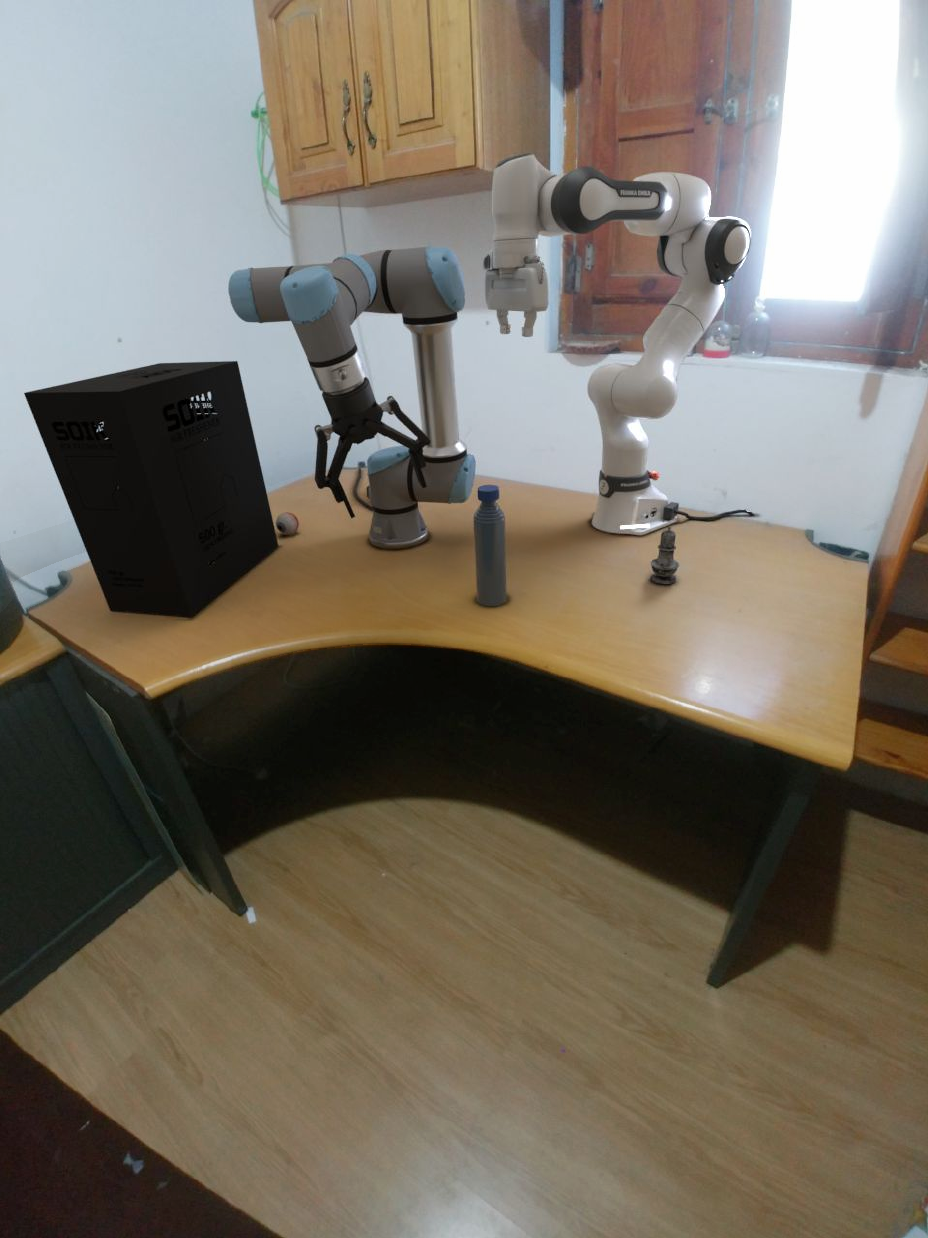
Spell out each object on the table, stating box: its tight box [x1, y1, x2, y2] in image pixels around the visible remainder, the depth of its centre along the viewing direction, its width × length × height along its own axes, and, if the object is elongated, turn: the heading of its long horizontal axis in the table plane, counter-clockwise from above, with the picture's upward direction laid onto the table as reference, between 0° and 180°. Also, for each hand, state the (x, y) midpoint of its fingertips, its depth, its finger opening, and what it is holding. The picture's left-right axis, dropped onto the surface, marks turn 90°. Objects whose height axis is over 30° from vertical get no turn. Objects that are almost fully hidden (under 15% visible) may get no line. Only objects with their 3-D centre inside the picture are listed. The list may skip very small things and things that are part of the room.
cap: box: [477, 484, 500, 502], centre depth 115 cm, size 4×4×2 cm
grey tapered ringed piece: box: [649, 526, 680, 585], centre depth 128 cm, size 6×6×12 cm
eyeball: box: [275, 511, 300, 536], centre depth 163 cm, size 6×6×6 cm
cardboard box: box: [23, 360, 279, 618], centre depth 133 cm, size 38×20×45 cm, turn 167°
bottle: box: [472, 500, 508, 608], centre depth 121 cm, size 6×6×24 cm
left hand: (387, 499), depth 106 cm, fingers open, 13 cm apart
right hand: (516, 335), depth 125 cm, fingers open, 8 cm apart
